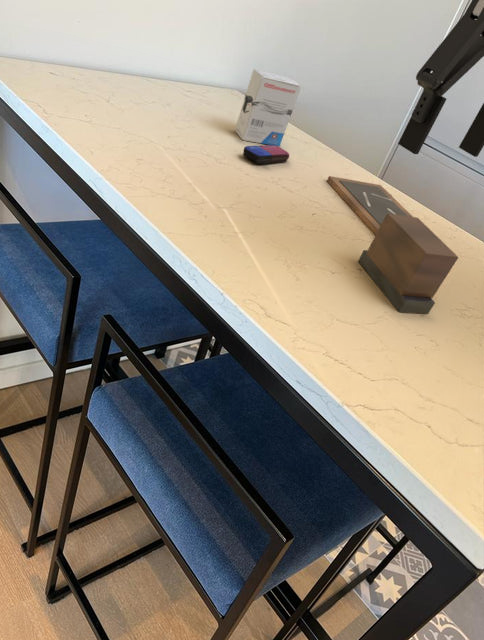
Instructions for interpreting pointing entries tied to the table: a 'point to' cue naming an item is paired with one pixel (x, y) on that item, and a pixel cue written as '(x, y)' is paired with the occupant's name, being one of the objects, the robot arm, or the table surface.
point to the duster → (407, 263)
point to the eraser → (266, 154)
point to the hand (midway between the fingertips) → (439, 151)
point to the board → (367, 201)
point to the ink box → (267, 108)
